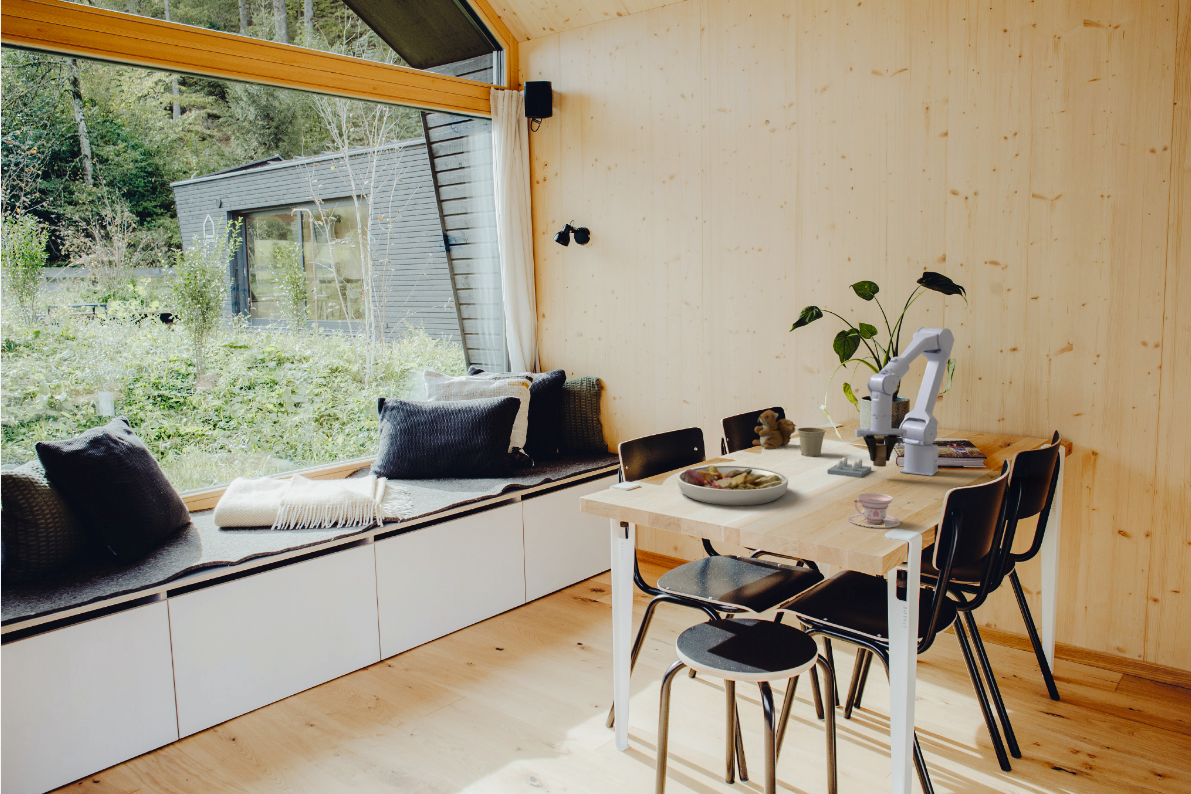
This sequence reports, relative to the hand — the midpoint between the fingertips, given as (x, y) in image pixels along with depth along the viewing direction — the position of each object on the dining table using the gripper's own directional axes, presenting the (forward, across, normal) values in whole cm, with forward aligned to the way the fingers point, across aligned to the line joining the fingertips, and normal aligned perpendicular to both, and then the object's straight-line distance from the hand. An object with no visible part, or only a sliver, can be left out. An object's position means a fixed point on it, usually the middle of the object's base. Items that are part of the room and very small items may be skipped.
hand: (879, 460), depth 242 cm
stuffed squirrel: (+6, +20, -51) cm, 55 cm away
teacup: (+6, +17, +44) cm, 48 cm away
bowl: (+6, +46, +15) cm, 49 cm away
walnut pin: (+2, 0, 0) cm, 2 cm away
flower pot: (+6, +11, -35) cm, 37 cm away
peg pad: (+5, +6, -9) cm, 12 cm away
